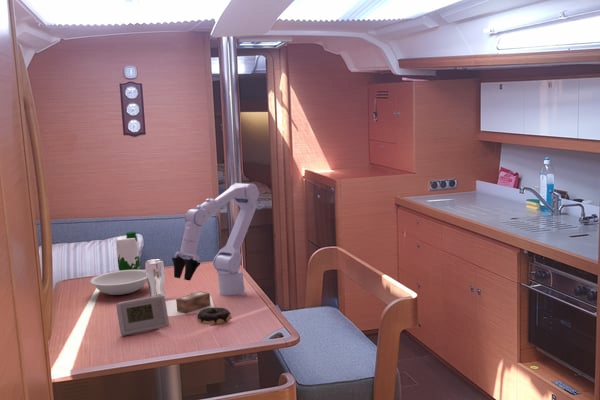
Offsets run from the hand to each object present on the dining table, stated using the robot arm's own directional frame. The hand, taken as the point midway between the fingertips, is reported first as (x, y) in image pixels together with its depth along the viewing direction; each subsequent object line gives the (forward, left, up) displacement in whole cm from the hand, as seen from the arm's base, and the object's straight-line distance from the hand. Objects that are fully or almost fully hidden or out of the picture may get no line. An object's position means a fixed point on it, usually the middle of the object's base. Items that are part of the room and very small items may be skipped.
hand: (182, 279), depth 245 cm
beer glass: (+10, -18, -12) cm, 24 cm away
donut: (-9, +17, -12) cm, 22 cm away
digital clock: (+14, +18, -12) cm, 25 cm away
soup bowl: (+24, -34, -12) cm, 43 cm away
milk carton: (+22, -58, -12) cm, 63 cm away
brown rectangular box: (-3, +3, -11) cm, 11 cm away
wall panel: (+1, -1, -12) cm, 12 cm away
